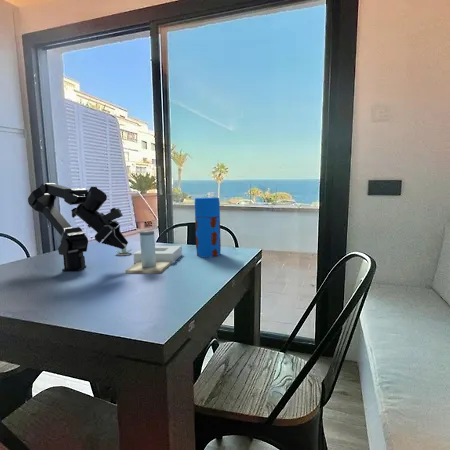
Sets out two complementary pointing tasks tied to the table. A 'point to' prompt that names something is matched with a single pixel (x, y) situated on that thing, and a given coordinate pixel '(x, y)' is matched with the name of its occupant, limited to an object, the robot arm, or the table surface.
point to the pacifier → (123, 251)
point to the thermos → (207, 227)
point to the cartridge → (147, 249)
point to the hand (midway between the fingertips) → (125, 245)
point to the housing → (162, 254)
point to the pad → (139, 269)
